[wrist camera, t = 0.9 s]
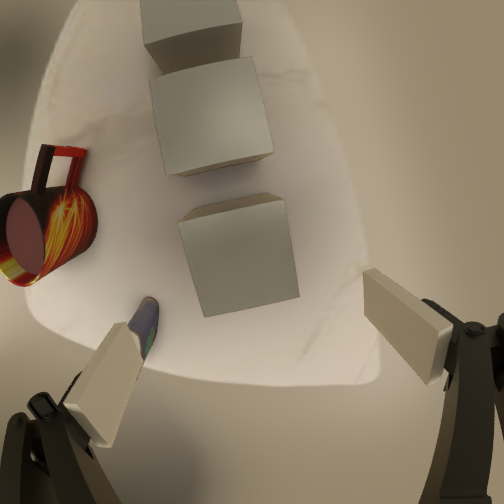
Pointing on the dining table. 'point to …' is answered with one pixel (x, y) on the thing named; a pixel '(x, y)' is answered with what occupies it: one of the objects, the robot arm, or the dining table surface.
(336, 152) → the dining table surface
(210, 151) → the pale gray cube
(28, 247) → the mug
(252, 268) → the large plain grey block
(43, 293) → the dining table surface
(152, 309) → the flask
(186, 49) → the pale grey cube
